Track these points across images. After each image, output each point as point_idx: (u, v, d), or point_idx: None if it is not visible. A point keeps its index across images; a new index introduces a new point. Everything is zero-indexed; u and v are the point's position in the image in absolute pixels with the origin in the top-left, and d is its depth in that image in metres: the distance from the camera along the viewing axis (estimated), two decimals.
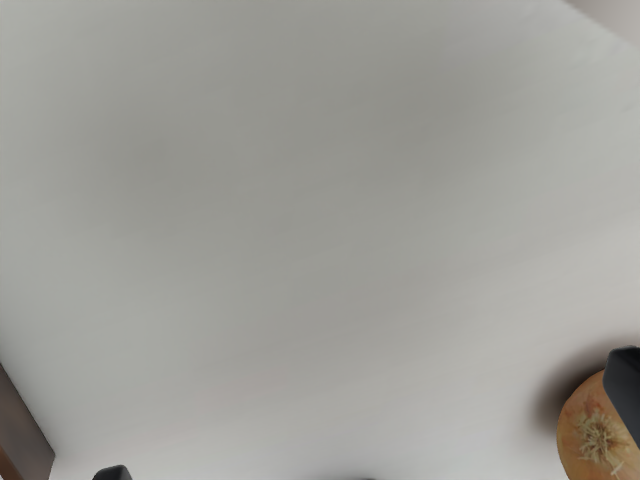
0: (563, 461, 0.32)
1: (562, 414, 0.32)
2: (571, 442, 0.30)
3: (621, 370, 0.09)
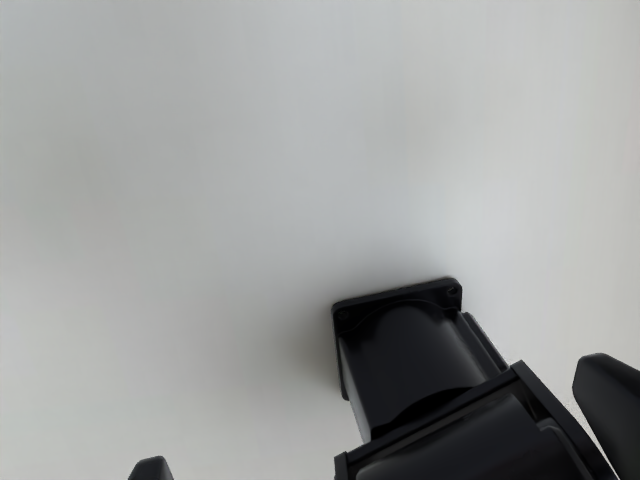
0: None
1: None
2: None
3: (589, 378, 0.09)
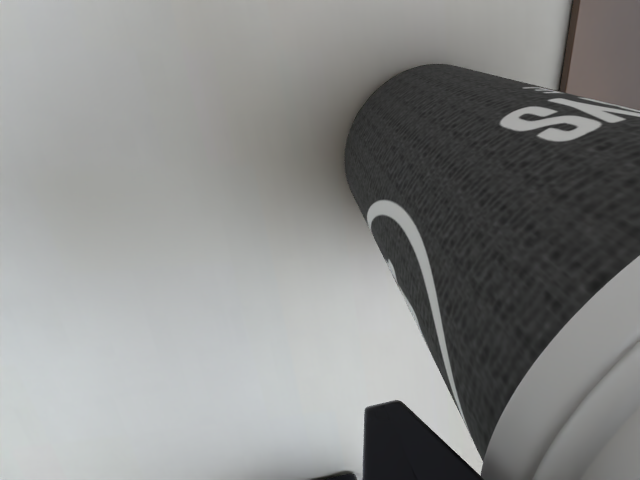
0: None
1: None
2: None
3: None
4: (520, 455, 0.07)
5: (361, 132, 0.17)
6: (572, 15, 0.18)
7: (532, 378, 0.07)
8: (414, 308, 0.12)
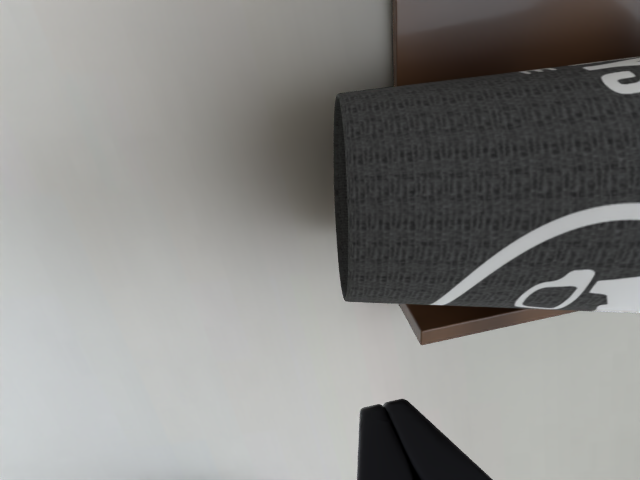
0: None
1: None
2: None
3: None
4: None
5: (398, 193, 0.13)
6: (393, 32, 0.17)
7: None
8: None
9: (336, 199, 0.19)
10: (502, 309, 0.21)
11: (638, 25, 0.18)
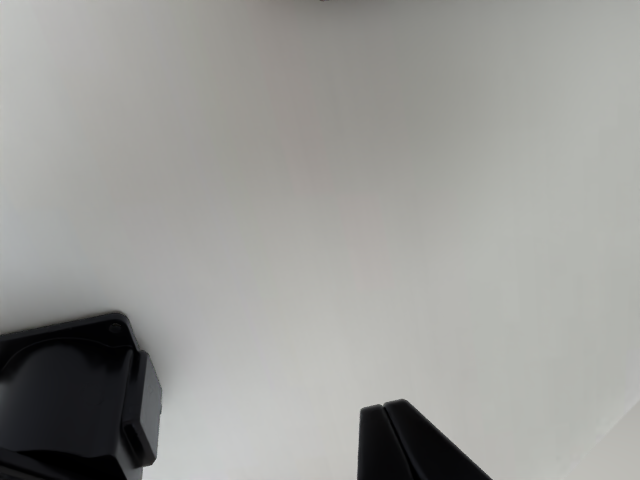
0: None
1: None
2: None
3: None
4: None
5: None
6: None
7: None
8: None
9: None
10: None
11: None
